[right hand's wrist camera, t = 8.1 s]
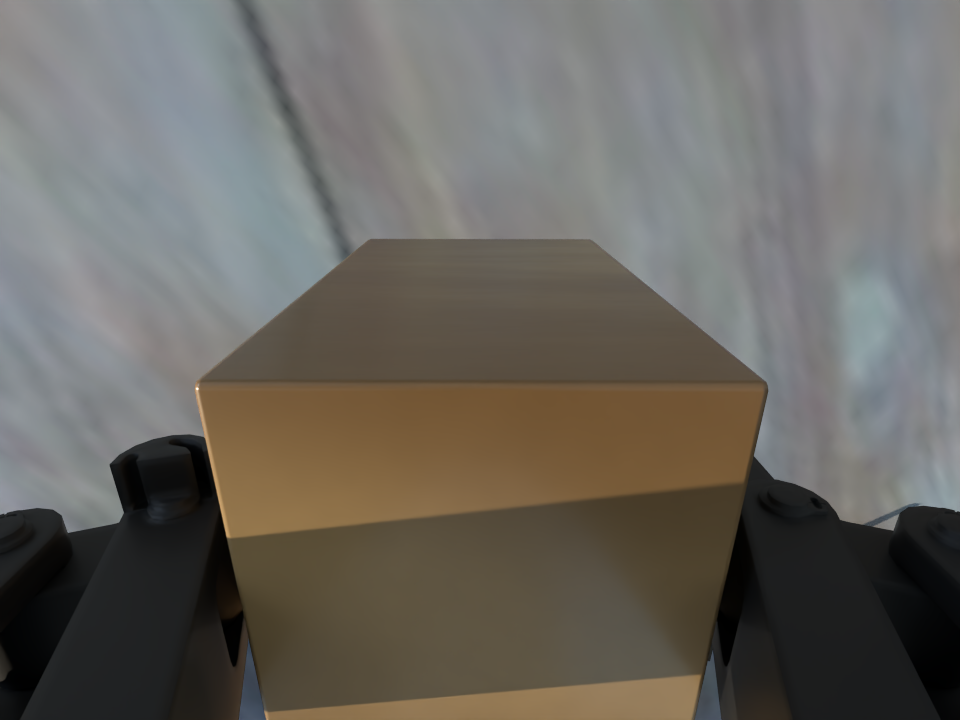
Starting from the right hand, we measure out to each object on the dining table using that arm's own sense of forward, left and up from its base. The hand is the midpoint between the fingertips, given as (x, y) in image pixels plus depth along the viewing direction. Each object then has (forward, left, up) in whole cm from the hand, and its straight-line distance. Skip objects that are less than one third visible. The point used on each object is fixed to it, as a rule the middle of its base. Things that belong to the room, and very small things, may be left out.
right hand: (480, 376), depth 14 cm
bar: (+7, +7, -1) cm, 9 cm away
